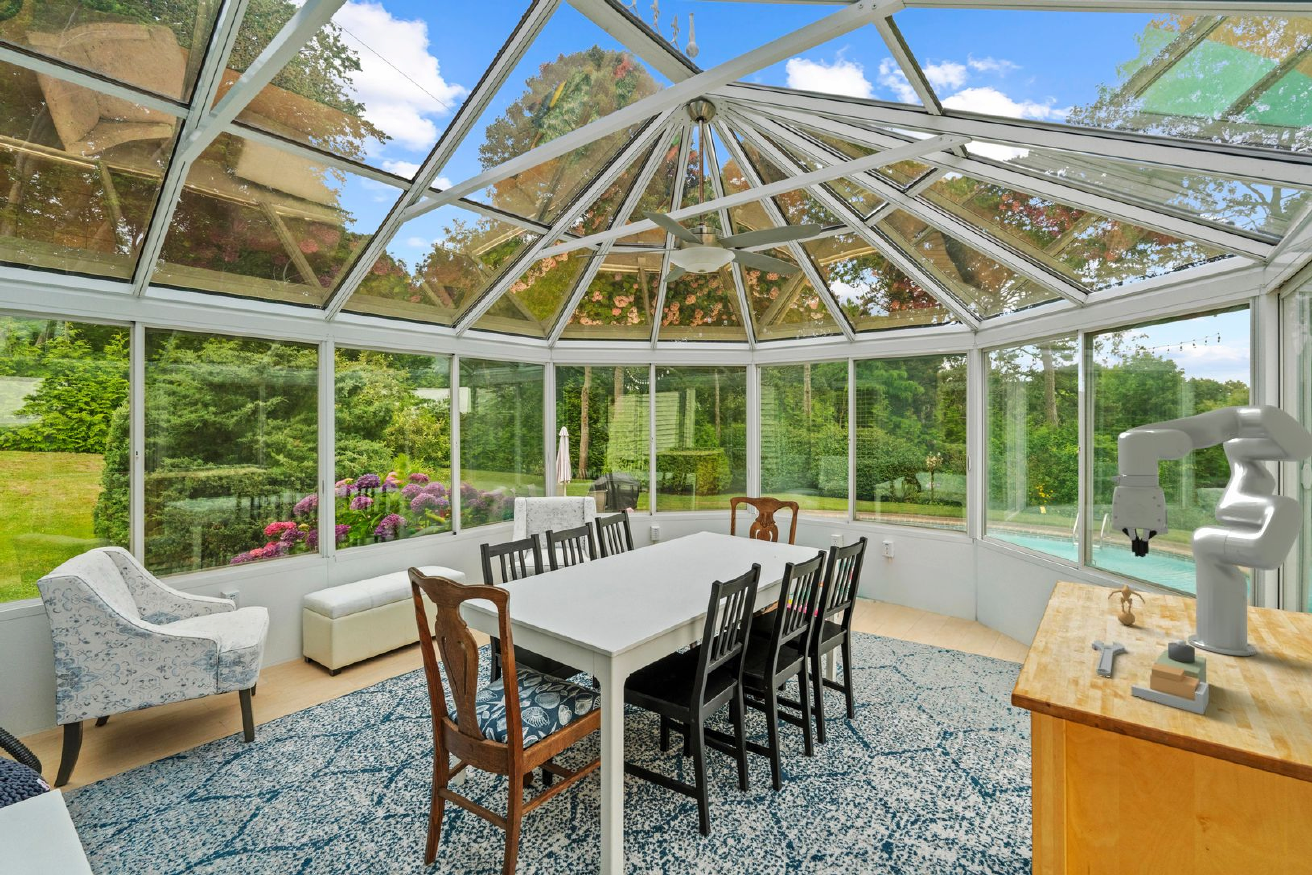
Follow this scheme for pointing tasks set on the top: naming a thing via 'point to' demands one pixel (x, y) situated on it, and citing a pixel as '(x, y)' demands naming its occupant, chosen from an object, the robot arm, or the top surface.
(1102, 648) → the adjustable wrench
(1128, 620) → the figurine
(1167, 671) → the stepped orange block
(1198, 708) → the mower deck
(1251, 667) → the top surface
